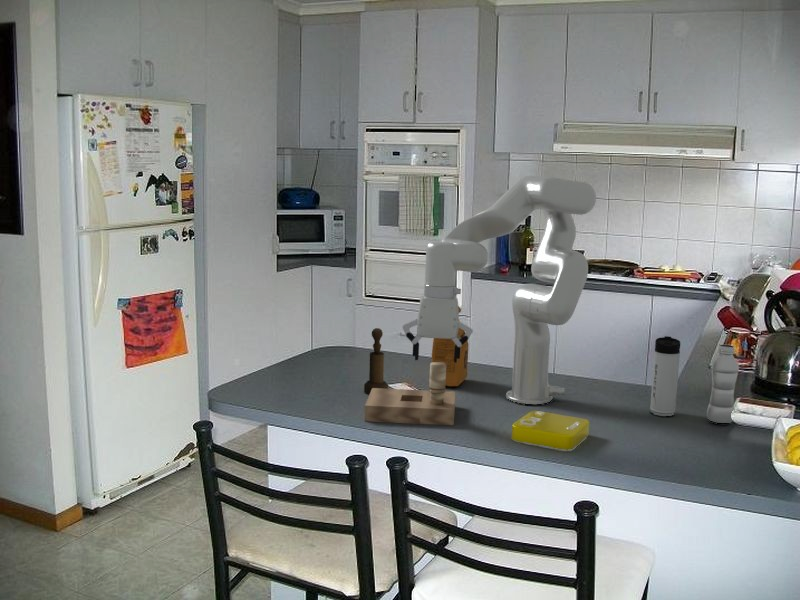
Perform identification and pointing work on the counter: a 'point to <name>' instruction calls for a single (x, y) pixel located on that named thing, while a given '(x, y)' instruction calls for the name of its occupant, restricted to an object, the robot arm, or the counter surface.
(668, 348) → the travel mug
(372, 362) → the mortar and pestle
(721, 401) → the plastic bottle
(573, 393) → the counter surface
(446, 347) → the coffee package
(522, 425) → the element tile
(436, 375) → the peg
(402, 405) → the board
